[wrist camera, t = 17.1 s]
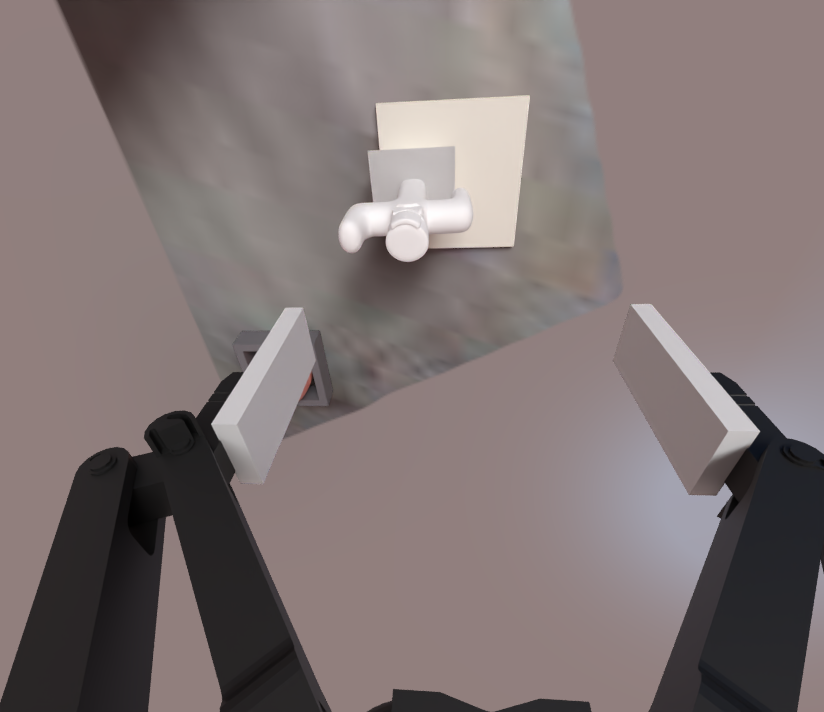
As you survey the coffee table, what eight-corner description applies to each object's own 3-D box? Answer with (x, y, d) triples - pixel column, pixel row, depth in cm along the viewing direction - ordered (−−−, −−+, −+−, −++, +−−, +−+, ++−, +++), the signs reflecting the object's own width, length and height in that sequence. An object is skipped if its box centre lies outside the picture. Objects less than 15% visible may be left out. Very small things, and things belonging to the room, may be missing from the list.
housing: (242, 331, 50) (232, 344, 48) (319, 330, 49) (313, 344, 47) (263, 390, 56) (255, 405, 54) (333, 391, 55) (328, 406, 53)
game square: (376, 103, 35) (375, 103, 34) (528, 95, 34) (529, 95, 33) (388, 247, 42) (388, 249, 42) (512, 244, 41) (513, 246, 41)
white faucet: (463, 220, 40) (477, 289, 28) (370, 223, 40) (343, 293, 28) (465, 138, 35) (483, 178, 23) (360, 144, 36) (325, 185, 24)
